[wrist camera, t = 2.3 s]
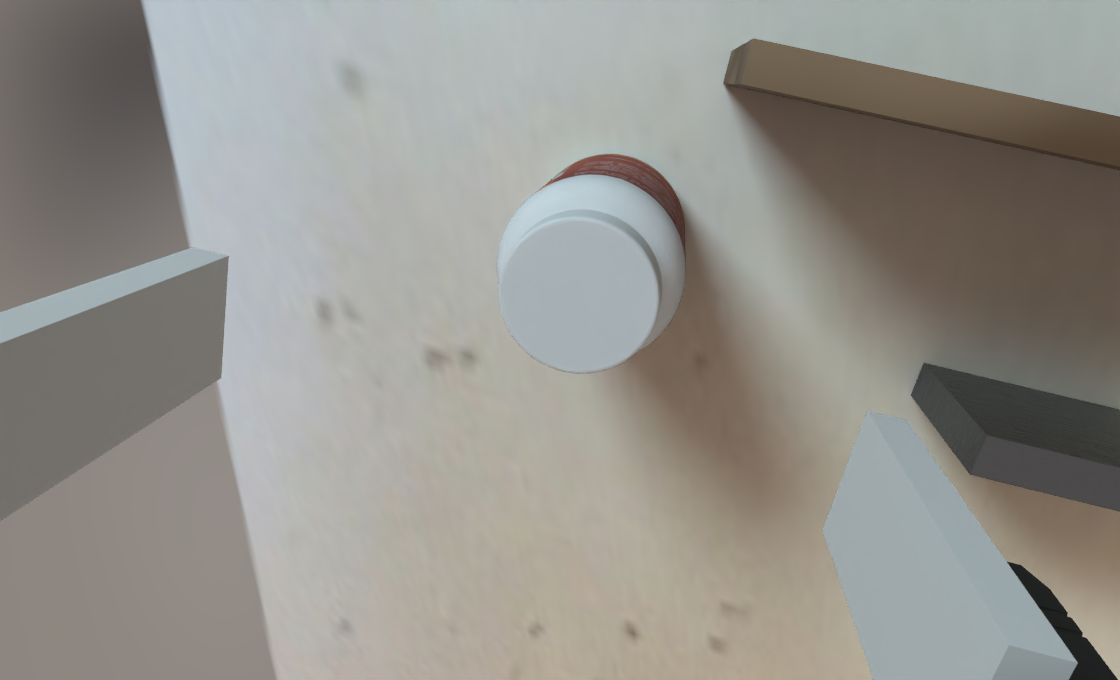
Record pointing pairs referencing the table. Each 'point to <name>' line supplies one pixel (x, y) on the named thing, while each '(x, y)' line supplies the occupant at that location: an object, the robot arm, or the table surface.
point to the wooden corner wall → (927, 102)
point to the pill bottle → (593, 264)
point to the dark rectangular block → (1025, 435)
